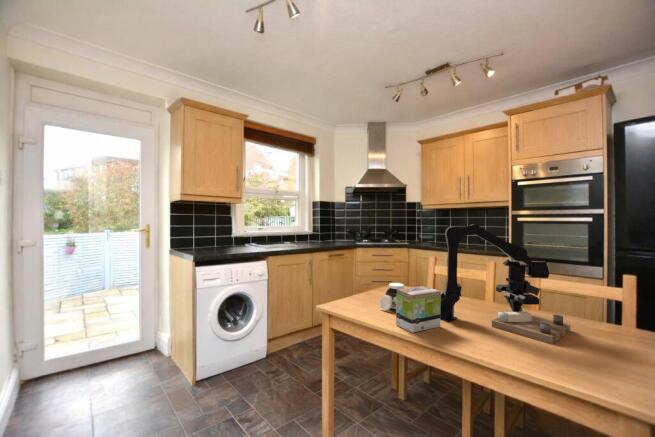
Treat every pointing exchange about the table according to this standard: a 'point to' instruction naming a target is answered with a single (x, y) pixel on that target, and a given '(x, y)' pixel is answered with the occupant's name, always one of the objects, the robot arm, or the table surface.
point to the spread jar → (390, 297)
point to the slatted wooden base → (536, 328)
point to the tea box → (418, 308)
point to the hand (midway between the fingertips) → (515, 314)
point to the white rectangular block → (514, 317)
